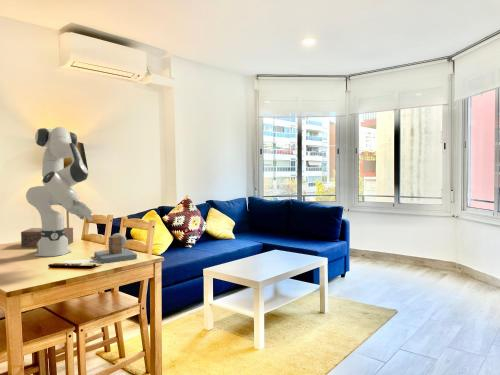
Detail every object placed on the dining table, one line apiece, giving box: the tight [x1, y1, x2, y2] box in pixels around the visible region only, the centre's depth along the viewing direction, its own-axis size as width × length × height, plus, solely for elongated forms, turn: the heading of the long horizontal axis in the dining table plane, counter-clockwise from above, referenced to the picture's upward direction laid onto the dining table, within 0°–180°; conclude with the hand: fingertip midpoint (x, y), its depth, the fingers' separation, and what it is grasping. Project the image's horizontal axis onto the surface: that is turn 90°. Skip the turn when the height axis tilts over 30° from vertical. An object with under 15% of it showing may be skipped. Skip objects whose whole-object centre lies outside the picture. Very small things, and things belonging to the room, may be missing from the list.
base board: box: [93, 247, 138, 264], centre depth 213 cm, size 18×18×2 cm
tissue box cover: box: [20, 227, 74, 249], centre depth 245 cm, size 26×14×10 cm, turn 97°
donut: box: [110, 232, 127, 249], centre depth 233 cm, size 10×3×10 cm, turn 108°
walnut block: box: [108, 235, 123, 255], centre depth 212 cm, size 5×5×9 cm
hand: (87, 219), depth 200 cm, fingers open, 8 cm apart
